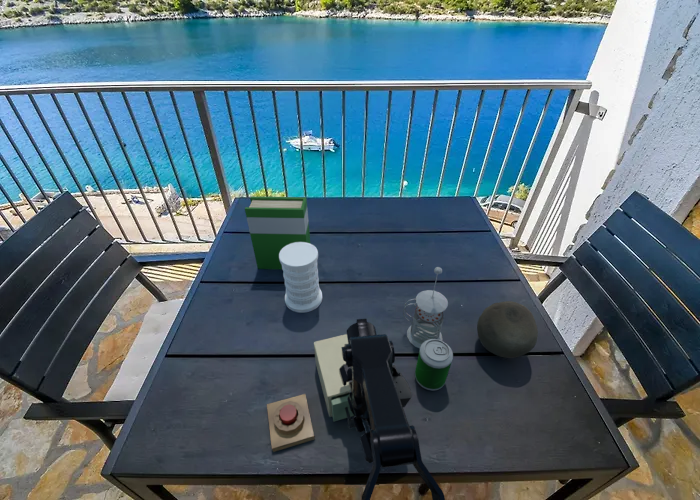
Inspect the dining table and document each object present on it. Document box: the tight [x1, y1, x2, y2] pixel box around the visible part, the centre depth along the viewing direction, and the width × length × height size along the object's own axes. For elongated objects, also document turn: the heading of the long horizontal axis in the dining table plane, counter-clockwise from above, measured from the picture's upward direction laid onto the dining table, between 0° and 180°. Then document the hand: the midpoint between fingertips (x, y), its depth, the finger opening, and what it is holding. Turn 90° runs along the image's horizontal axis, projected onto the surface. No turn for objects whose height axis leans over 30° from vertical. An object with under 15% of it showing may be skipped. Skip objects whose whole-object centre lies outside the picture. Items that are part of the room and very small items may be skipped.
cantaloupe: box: [476, 300, 539, 359], centre depth 89 cm, size 14×14×15 cm
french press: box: [402, 266, 449, 349], centre depth 90 cm, size 10×12×25 cm
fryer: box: [313, 333, 351, 418], centre depth 83 cm, size 15×13×9 cm
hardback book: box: [244, 196, 312, 270], centre depth 114 cm, size 18×7×24 cm, turn 88°
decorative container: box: [279, 242, 323, 313], centre depth 103 cm, size 12×12×18 cm
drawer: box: [331, 393, 356, 430], centre depth 80 cm, size 18×11×7 cm, turn 17°
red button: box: [280, 405, 297, 425], centre depth 76 cm, size 4×4×2 cm
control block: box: [266, 393, 316, 453], centre depth 77 cm, size 10×9×4 cm
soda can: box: [414, 339, 454, 392], centre depth 83 cm, size 8×8×12 cm
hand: (365, 426), depth 72 cm, fingers closed
